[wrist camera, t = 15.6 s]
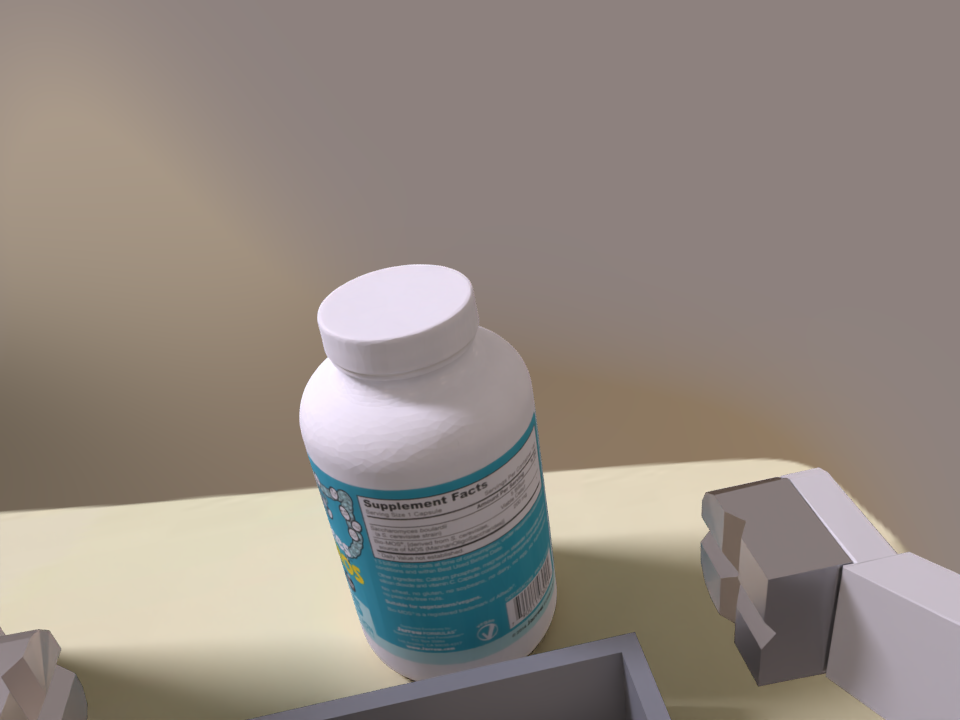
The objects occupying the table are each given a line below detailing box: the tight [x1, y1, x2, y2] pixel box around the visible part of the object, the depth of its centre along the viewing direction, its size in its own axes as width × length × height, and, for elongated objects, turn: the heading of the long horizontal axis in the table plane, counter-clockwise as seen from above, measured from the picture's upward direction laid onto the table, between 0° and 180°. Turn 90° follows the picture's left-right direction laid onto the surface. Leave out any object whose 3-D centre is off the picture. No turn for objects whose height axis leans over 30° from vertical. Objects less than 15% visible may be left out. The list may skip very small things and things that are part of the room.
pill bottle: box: [300, 264, 557, 681], centre depth 28 cm, size 8×7×14 cm
